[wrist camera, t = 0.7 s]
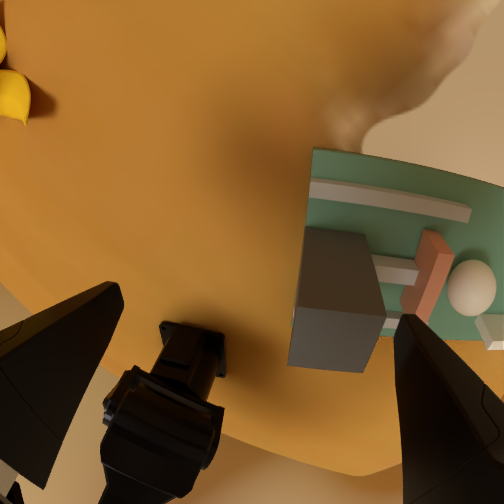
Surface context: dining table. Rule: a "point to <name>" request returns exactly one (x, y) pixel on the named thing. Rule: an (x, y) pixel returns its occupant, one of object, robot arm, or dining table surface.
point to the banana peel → (13, 89)
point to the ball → (471, 287)
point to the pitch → (414, 227)
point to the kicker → (357, 295)
